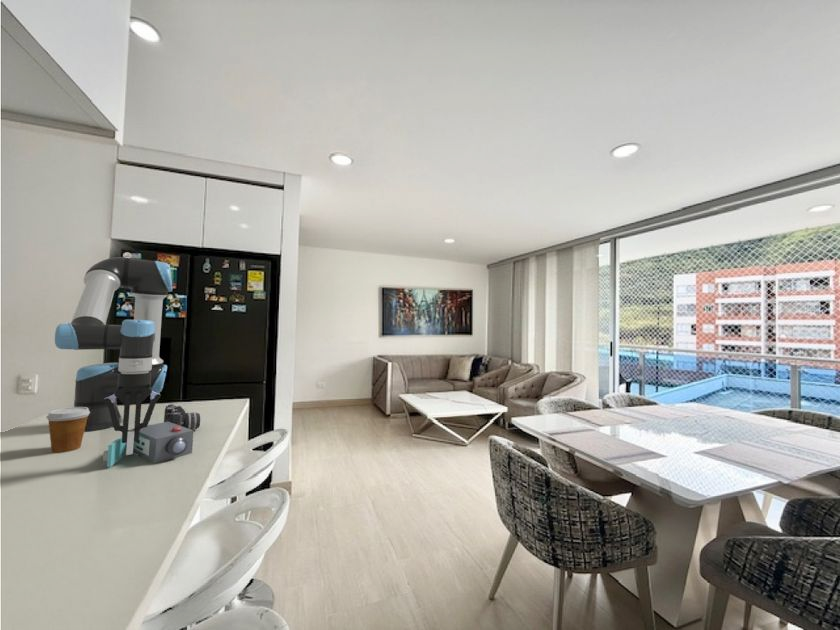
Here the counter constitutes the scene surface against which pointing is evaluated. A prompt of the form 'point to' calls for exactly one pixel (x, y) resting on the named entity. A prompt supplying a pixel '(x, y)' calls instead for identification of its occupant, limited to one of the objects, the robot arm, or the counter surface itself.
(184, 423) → the camera
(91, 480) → the counter surface
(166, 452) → the grey boxy piece
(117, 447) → the door
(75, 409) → the disposable coffee cup
